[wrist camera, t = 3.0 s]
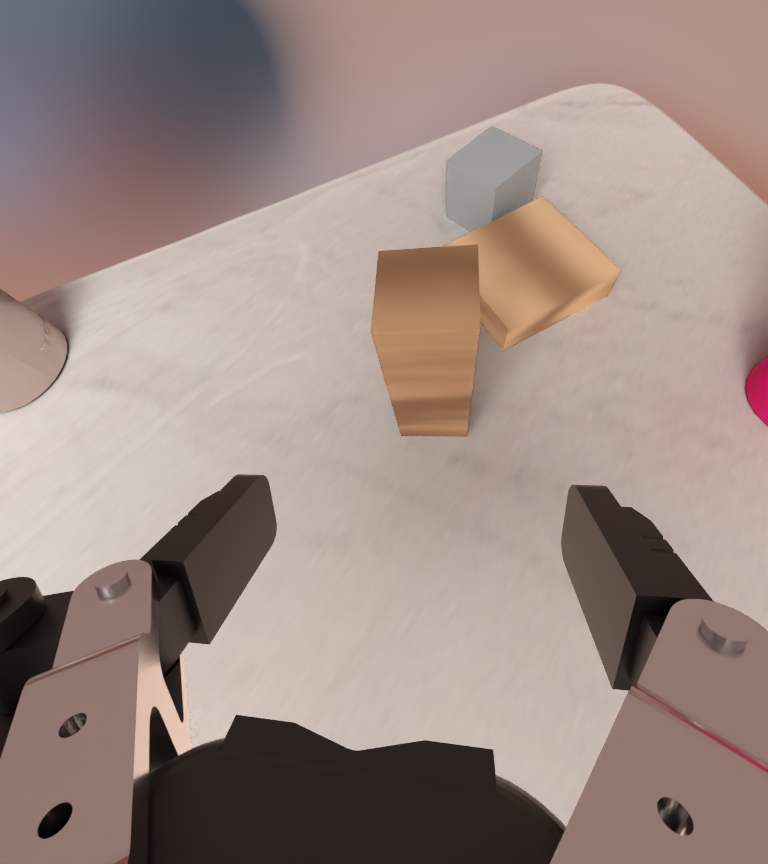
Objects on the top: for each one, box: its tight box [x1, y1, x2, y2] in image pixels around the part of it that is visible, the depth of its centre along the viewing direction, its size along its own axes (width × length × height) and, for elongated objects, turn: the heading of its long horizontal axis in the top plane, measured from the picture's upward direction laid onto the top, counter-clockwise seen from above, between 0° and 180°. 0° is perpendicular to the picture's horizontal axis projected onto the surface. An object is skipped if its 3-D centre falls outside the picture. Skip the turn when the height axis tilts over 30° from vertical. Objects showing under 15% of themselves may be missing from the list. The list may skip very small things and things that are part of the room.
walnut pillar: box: [371, 244, 480, 436], centre depth 23 cm, size 4×4×12 cm
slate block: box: [446, 126, 543, 232], centre depth 32 cm, size 5×5×5 cm
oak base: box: [442, 196, 622, 351], centre depth 30 cm, size 9×9×3 cm
